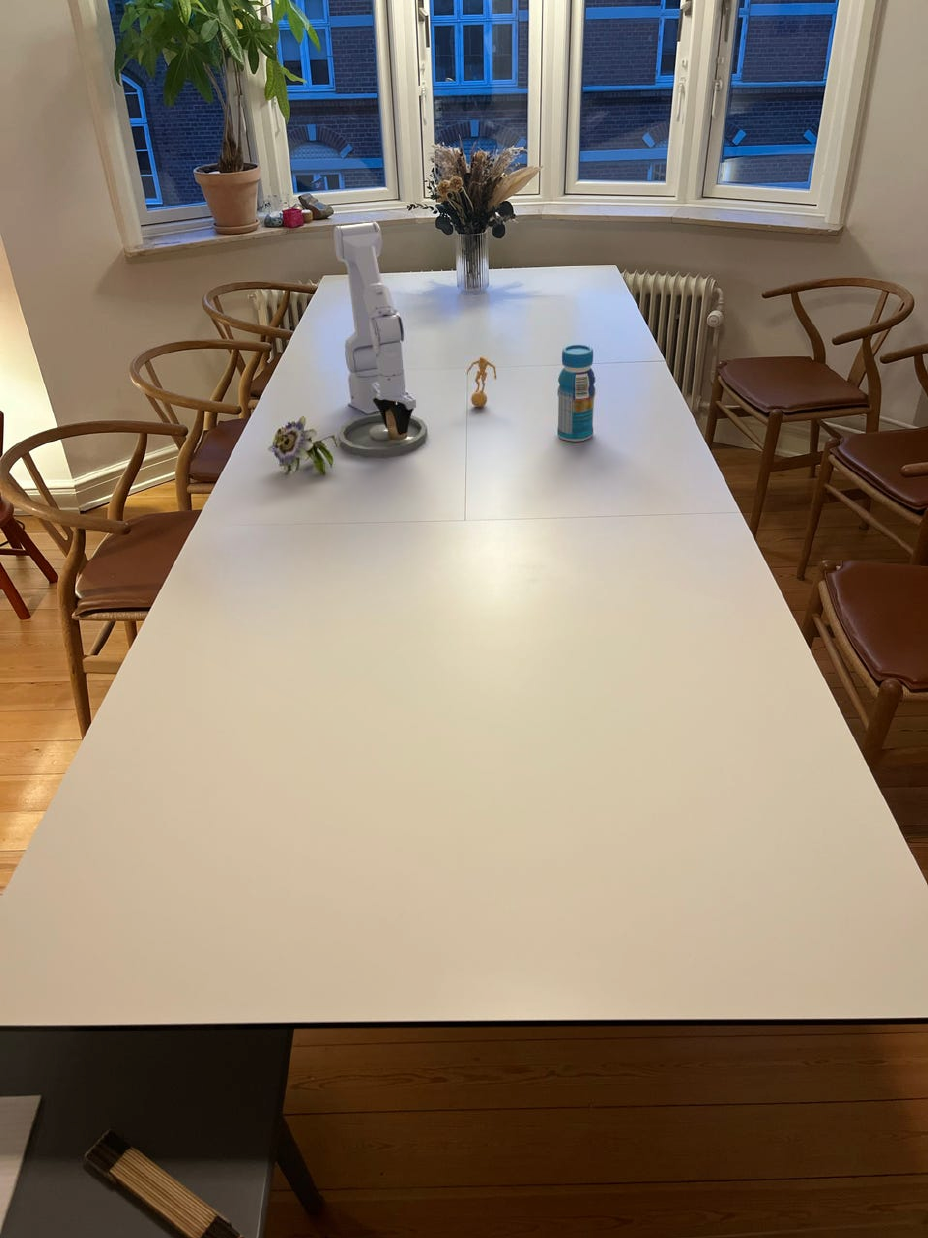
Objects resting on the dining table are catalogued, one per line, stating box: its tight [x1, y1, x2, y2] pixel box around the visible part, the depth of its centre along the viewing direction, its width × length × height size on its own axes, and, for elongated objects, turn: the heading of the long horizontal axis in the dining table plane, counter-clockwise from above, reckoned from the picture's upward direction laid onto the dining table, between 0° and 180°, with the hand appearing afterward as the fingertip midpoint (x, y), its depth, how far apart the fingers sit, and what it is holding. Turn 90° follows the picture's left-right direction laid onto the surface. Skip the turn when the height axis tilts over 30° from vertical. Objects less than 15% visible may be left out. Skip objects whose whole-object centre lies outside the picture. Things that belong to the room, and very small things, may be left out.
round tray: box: [337, 412, 429, 459], centre depth 204 cm, size 20×20×2 cm
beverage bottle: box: [556, 344, 596, 443], centre depth 195 cm, size 8×8×20 cm
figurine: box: [466, 356, 497, 408], centre depth 215 cm, size 8×6×12 cm
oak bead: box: [386, 409, 407, 441], centre depth 198 cm, size 4×4×6 cm
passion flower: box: [268, 415, 340, 475], centre depth 192 cm, size 13×12×14 cm
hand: (396, 430), depth 199 cm, fingers closed on oak bead, 4 cm apart
